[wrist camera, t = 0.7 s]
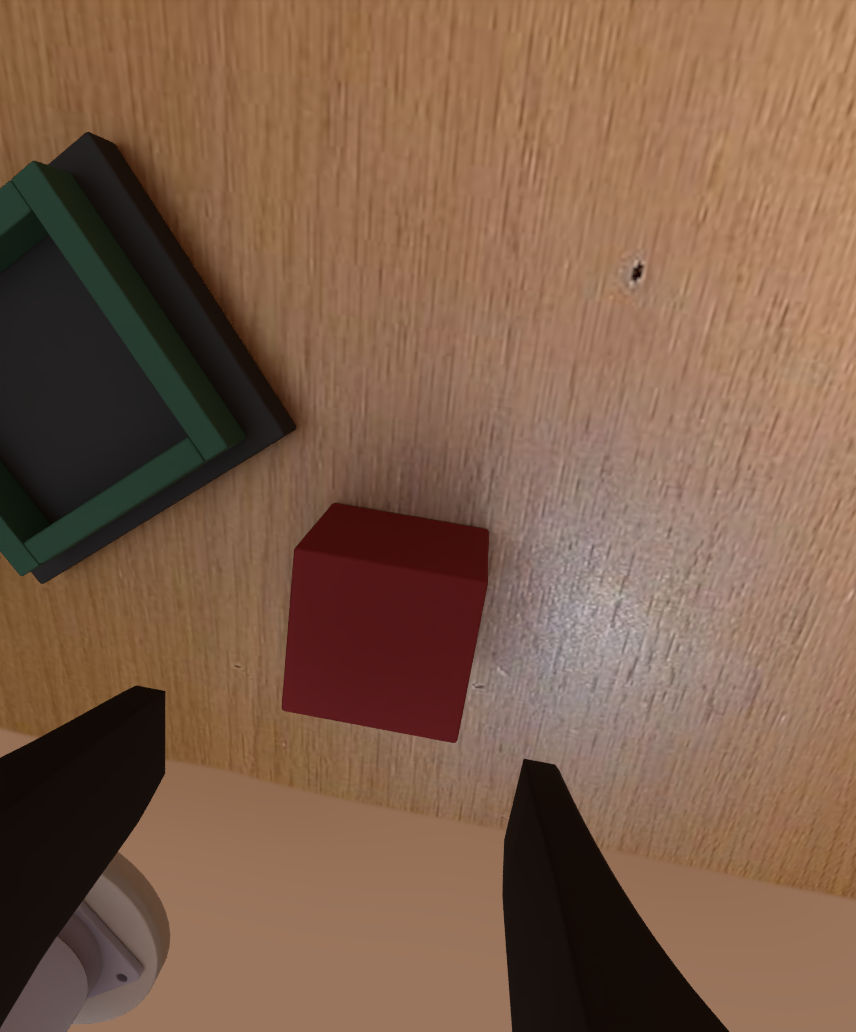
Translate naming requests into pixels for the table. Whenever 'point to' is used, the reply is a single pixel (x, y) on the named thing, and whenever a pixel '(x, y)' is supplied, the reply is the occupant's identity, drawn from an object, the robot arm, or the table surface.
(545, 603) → the table surface
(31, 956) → the robot arm
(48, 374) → the base pad
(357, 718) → the red cube
